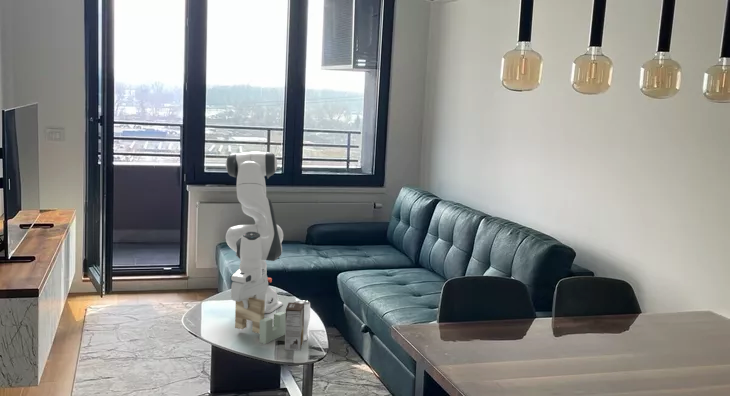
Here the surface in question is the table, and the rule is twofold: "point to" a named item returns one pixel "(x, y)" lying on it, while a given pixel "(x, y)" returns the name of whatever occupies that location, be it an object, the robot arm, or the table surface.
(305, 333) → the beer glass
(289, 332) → the coffee box
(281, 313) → the sage stand plate
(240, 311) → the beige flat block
